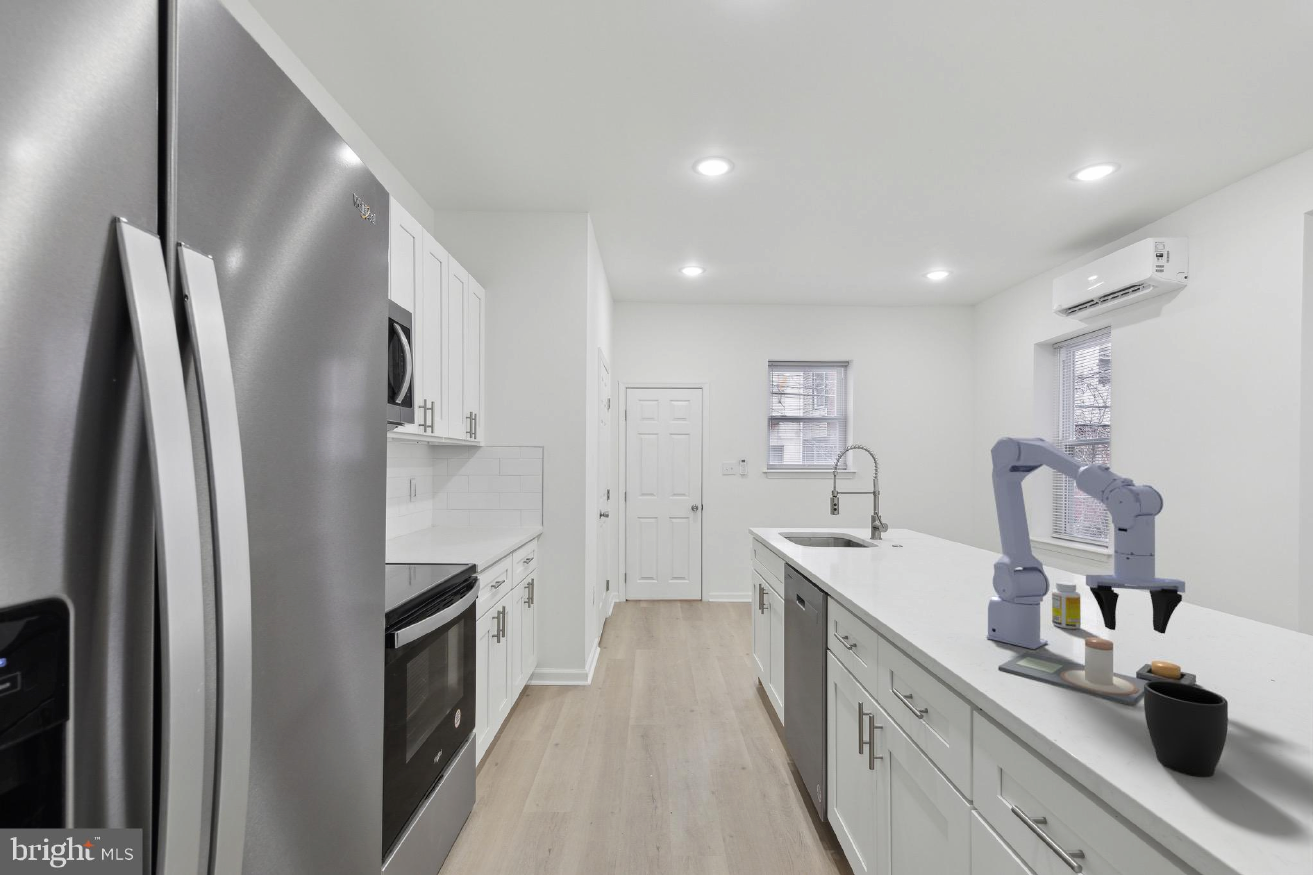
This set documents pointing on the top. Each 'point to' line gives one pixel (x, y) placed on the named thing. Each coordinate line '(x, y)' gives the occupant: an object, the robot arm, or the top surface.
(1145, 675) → the button housing
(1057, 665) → the picture board
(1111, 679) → the white and brown cylinder
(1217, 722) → the black oval cup
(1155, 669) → the button
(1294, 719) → the top surface
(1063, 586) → the supplement bottle
